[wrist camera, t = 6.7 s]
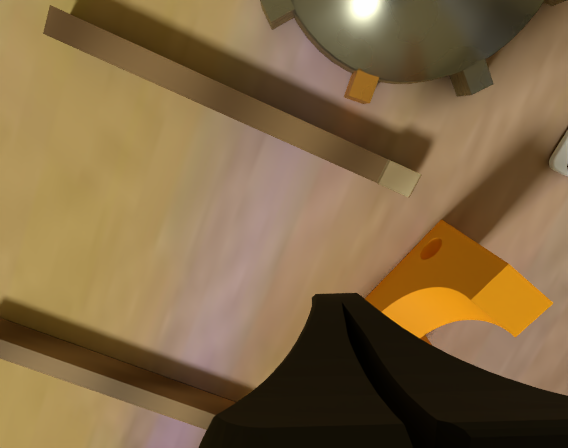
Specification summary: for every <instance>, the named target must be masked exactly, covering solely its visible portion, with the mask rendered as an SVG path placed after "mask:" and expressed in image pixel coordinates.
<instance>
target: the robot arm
mask: <svg viewBox="0 0 568 448" xmlns="http://www.w3.org/2000/svg"><path fill="white" fill-rule="evenodd" d="M567 164H568V130H567V132H566V133H565V135H564V136H563V138H562V140H561V141H560V143H559V144H558V146H557V148H556V149H555V151H554V152H553V154H552V156H551V157H550V160H549V166H550V168H551V169H552V170H554V171H556V172H558V173H560V174H562V175H564V176H566V177H568V169H567ZM199 448H568V396H566V395H562V394H558V393H554V392H550V391H546V390H542V389H539V388H535V387H532V386H529V385H526V384H523V383H520V382H517V381H514V380H511V379H508V378H505V377H502V376H499V375H497V374H494V373H491V372H489V371H486V370H484V369H481V368H479V367H476V366H474V365H472V364H469V363H467V362H464V361H462V360H460V359H458V358H456V357H454V356H451V355H449V354H447V353H445V352H444V351H442V350H440V349H438V348H436V347H434V346H432V345H430V344H428V343H427V342H425V341H423V340H421V339H420V338H418V337H417V336H415V335H413V334H412V333H410V332H409V331H407V330H406V329H404V328H403V327H401V326H400V325H398V324H397V323H395V322H394V321H393V320H391V319H390V318H389V317H387V316H386V315H385V314H383V313H382V312H381V311H379V310H378V309H377V308H375V307H374V306H373V305H372V304H370V303H369V302H368V301H367V300H365V299H364V298H363V297H362V296H360V295H359V294H357V293H337V294H315V295H314V296H313V297H312V308H311V311H310V314H309V317H308V319H307V322H306V324H305V327H304V329H303V330H302V332H301V334H300V336H299V338H298V340H297V342H296V343H295V345H294V346H293V348H292V349H291V351H290V352H289V354H288V355H287V356H286V358H285V359H284V360H283V362H282V363H281V364H280V365H279V366H278V367H277V368H276V370H275V371H274V372H273V373H272V374H271V375H270V376H269V377H268V378H267V379H266V380H265V381H264V382H263V383H262V384H260V385H259V386H258V387H257V388H256V389H255V390H253V391H252V392H251V393H250V394H248V395H247V396H245V397H244V398H243V399H241V400H239V401H238V402H236V403H235V404H233V405H231V406H230V407H228V408H227V409H225V410H224V411H222V412H220V413H218V414H217V415H215V416H214V417H213V419H212V421H211V423H210V425H209V427H208V429H207V431H206V433H205V435H204V437H203V439H202V441H201V443H200V446H199Z"/></svg>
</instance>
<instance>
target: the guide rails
mask: <svg viewBox="0 0 568 448" xmlns="http://www.w3.org/2000/svg"><path fill="white" fill-rule="evenodd" d="M43 34H45V35H47V36H50V37H52V38H54V39H56V40H59V41H61V42H63V43H65V44H68V45H70V46H72V47H74V48H77V49H79V50H81V51H83V52H85V53H88V54H90V55H92V56H94V57H97V58H99V59H101V60H103V61H106V62H108V63H110V64H112V65H115V66H117V67H119V68H121V69H123V70H126V71H128V72H130V73H132V74H135V75H137V76H139V77H141V78H144V79H146V80H148V81H150V82H153V83H155V84H157V85H159V86H161V87H164V88H166V89H168V90H170V91H173V92H175V93H177V94H179V95H182V96H184V97H186V98H188V99H191V100H193V101H195V102H197V103H199V104H202V105H204V106H206V107H208V108H211V109H213V110H215V111H217V112H220V113H222V114H224V115H226V116H229V117H231V118H233V119H235V120H237V121H240V122H242V123H244V124H246V125H249V126H251V127H253V128H255V129H258V130H260V131H262V132H264V133H267V134H269V135H271V136H273V137H275V138H278V139H280V140H282V141H284V142H287V143H289V144H291V145H293V146H296V147H298V148H300V149H302V150H305V151H307V152H309V153H311V154H314V155H316V156H318V157H320V158H322V159H325V160H327V161H329V162H331V163H334V164H336V165H338V166H340V167H343V168H345V169H347V170H349V171H352V172H354V173H356V174H358V175H360V176H363V177H365V178H367V179H369V180H372V181H374V182H376V183H378V184H379V185H382V186H384V187H386V188H388V189H390V190H393V191H395V192H397V193H399V194H402V195H404V196H406V197H410V195H411V194H412V192H413V190H414V188H415V186H416V184H417V183H418V181H419V179H420V177H421V174H419V173H417V172H415V171H412V170H410V169H408V168H406V167H404V166H401V165H399V164H397V163H395V162H393V161H390V160H388V159H386V158H384V157H382V156H379V155H377V154H375V153H373V152H371V151H368V150H366V149H364V148H362V147H360V146H357V145H355V144H353V143H351V142H349V141H347V140H344V139H342V138H340V137H338V136H336V135H333V134H331V133H329V132H327V131H325V130H322V129H320V128H318V127H316V126H314V125H311V124H309V123H307V122H305V121H303V120H301V119H298V118H296V117H294V116H292V115H290V114H287V113H285V112H283V111H281V110H279V109H276V108H274V107H272V106H270V105H268V104H265V103H263V102H261V101H259V100H257V99H255V98H252V97H250V96H248V95H246V94H244V93H241V92H239V91H237V90H235V89H233V88H230V87H228V86H226V85H224V84H222V83H220V82H217V81H215V80H213V79H211V78H209V77H206V76H204V75H202V74H200V73H198V72H195V71H193V70H191V69H189V68H187V67H184V66H182V65H180V64H178V63H176V62H174V61H171V60H169V59H167V58H165V57H163V56H160V55H158V54H156V53H154V52H152V51H149V50H147V49H145V48H143V47H141V46H139V45H136V44H134V43H132V42H130V41H128V40H125V39H123V38H121V37H119V36H117V35H114V34H112V33H110V32H108V31H106V30H103V29H101V28H99V27H97V26H95V25H93V24H90V23H88V22H86V21H84V20H82V19H79V18H77V17H75V16H73V15H71V14H68V13H66V12H64V11H62V10H60V9H57V8H55V7H53V6H51V5H50V7H49V11H48V16H47V20H46V24H45V28H44V32H43ZM0 359H3V360H6V361H9V362H12V363H15V364H18V365H21V366H23V367H26V368H29V369H32V370H35V371H38V372H41V373H44V374H47V375H49V376H52V377H55V378H58V379H61V380H64V381H67V382H70V383H73V384H75V385H78V386H81V387H84V388H87V389H90V390H93V391H96V392H99V393H102V394H104V395H107V396H110V397H113V398H116V399H119V400H122V401H125V402H128V403H130V404H133V405H136V406H139V407H142V408H145V409H148V410H151V411H154V412H156V413H159V414H162V415H165V416H168V417H171V418H174V419H177V420H180V421H182V422H185V423H188V424H191V425H194V426H197V427H200V428H203V429H206V430H207V429H208V427H209V425H210V423H211V421H212V419H213V417H214V416H215V415H217V414H218V413H220V412H222V411H224V410H225V409H227V408H228V407H230V406H231V405H233V404H235V403H236V402H234V401H231V400H228V399H225V398H222V397H220V396H217V395H214V394H211V393H208V392H206V391H203V390H200V389H197V388H194V387H192V386H189V385H186V384H183V383H181V382H178V381H175V380H172V379H169V378H167V377H164V376H161V375H158V374H155V373H153V372H150V371H147V370H144V369H141V368H139V367H136V366H133V365H130V364H127V363H125V362H122V361H119V360H116V359H114V358H111V357H108V356H105V355H102V354H100V353H97V352H94V351H91V350H88V349H86V348H83V347H80V346H77V345H74V344H72V343H69V342H66V341H63V340H60V339H58V338H55V337H52V336H49V335H46V334H44V333H41V332H38V331H35V330H33V329H30V328H27V327H24V326H21V325H19V324H16V323H13V322H10V321H7V320H5V319H2V318H0Z"/></svg>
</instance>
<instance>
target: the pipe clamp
mask: <svg viewBox="0 0 568 448" xmlns="http://www.w3.org/2000/svg"><path fill="white" fill-rule="evenodd" d="M365 300H367V301H368V302H369V303H370V304H372V305H373V306H374V307H375V308H377V309H378V310H379V311H381V312H382V313H383V314H385V315H386V316H387V317H389V318H390V319H391V320H393V321H394V322H395V323H397V324H398V325H400V326H401V327H403V328H404V329H406V330H407V331H409V332H410V333H412V334H413V335H415V336H417V337H418V338H420V339H421V340H423V341H425V342H427V343H428V344H430V345H431V343H430V342H429V340H428V338H427V337H426V335H425V334H427V333H428V332H430V331H432V330H434V329H436V328H438V327H440V326H442V325H445V324H447V323H451V322H455V321H460V320H481V321H487V322H490V323H493V324H496V325H498V326H500V327H502V328H504V329H505V330H507V331H508V332H510V333H511V334H512V335H513V336H514V337H516V336H517V335H519V334H520V333H521V332H522V331H523V330H524V329H525V328H526V327H527V326H529V325H530V324H531V323H532V322H533V321H534V320H535V319H536V318H538V317H539V316H540V315H541V314H542V313H543V312H544V311H545V310H547V309H548V308H549V307H550V306H551V305H552V304H553V302H552V301H550V300H549V299H548V298H547V297H546V296H545V295H544V294H542V293H541V292H540V291H539V290H538V289H537V288H536V287H534V286H533V285H532V284H531V283H530V282H529V281H528V280H526V279H525V278H524V277H523V276H522V275H521V274H520V273H519V272H517V271H516V270H515V269H514V268H513V267H512V266H511V265H509V264H508V263H507V262H505V261H504V260H502V259H501V258H499V257H498V256H496V255H495V254H493V253H492V252H490V251H488V250H487V249H485V248H484V247H482V246H481V245H479V244H478V243H476V242H475V241H473V240H472V239H470V238H469V237H467V236H466V235H464V234H463V233H461V232H460V231H458V230H457V229H455V228H454V227H452V226H451V225H449V224H448V223H446V222H445V221H443V220H442V219H441V220H440V221H439V222H438V223H437V224H436V225H435V227H434V228H433V229H432V230H431V231H430V232H429V233H428V234H427V235H426V236H425V237H424V238H423V239H422V240H421V241H420V242H419V243H418V244H417V245H416V246H415V247H414V248H413V249H412V250H411V251H410V252H409V253H408V254H407V256H406V257H405V258H404V259H403V260H402V261H401V262H400V263H399V264H398V265H397V266H396V267H395V268H394V269H393V270H392V271H391V272H390V273H389V274H388V275H387V276H386V277H385V278H384V279H383V280H382V281H381V282H380V283H379V285H378V286H377V287H376V288H375V289H374V290H373V291H372V292H371V293H370V294H369V295H368V296H367V297H366V298H365Z"/></svg>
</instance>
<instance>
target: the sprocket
mask: <svg viewBox="0 0 568 448" xmlns="http://www.w3.org/2000/svg"><path fill="white" fill-rule="evenodd" d="M564 1H566V0H260V2H261V6H262V10H263V12H264V14H265V16H266V18H267V20H268V22H269V25H270V27H271V29H272V30H273V29H275V28H276V27H278V26H280V25H282V24H283V23H285V22H287V21H289V20H291V19H292V18H295V20H296V22H297V24H298V25H299V27H300V28H301V30H302V31H303V32H304V34H305V35H306V37H307V38H308V39H309V40H310V41H311V43H312V44H313V45H314V46H315V47H316V48H317V49H318V50H319V51H320V52H321V53H322V54H323V55H325V56H326V57H327V58H328V59H329V60H331V61H332V62H333V63H335V64H336V65H338V66H340V67H341V68H343V69H344V70H346V71H348V72H350V73H352V75H351V78H350V81H349V84H348V86H347V89H346V92H345V95H344V97H345V98H347V99H350V100H353V101H356V102H359V103H362V104H366V103H370V101H371V99H372V96H373V93H374V90H375V88H376V85H377V82H383V83H390V84H412V83H418V82H425V81H430V80H434V79H438V78H442V77H445V76H450V79H451V81H452V84H453V87H454V90H455V92H456V95H457V96H466V95H472V94H474V93H476V92H478V91H480V90H482V89H484V88H486V87H488V86H490V85H492V84H493V81H492V78H491V75H490V72H489V69H488V66H487V63H486V60H485V59H486V58H488V57H490V56H491V55H493V54H494V53H495V52H497V51H498V50H499V49H501V48H502V47H503V46H505V45H506V44H507V43H508V42H509V41H510V40H511V39H512V38H514V37H515V36H516V35H517V34H518V33H519V32H520V31H521V30H522V29H523V28H524V27H525V25H526V24H527V23H528V22H529V21H530V19H531V18H532V17H533V16H534V15H535V13H536V12H537V11H538V9H539V8H540V6H541V5H542V3H545V4H548V5H550V6H554V5H556V4H559V3H561V2H564Z"/></svg>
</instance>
